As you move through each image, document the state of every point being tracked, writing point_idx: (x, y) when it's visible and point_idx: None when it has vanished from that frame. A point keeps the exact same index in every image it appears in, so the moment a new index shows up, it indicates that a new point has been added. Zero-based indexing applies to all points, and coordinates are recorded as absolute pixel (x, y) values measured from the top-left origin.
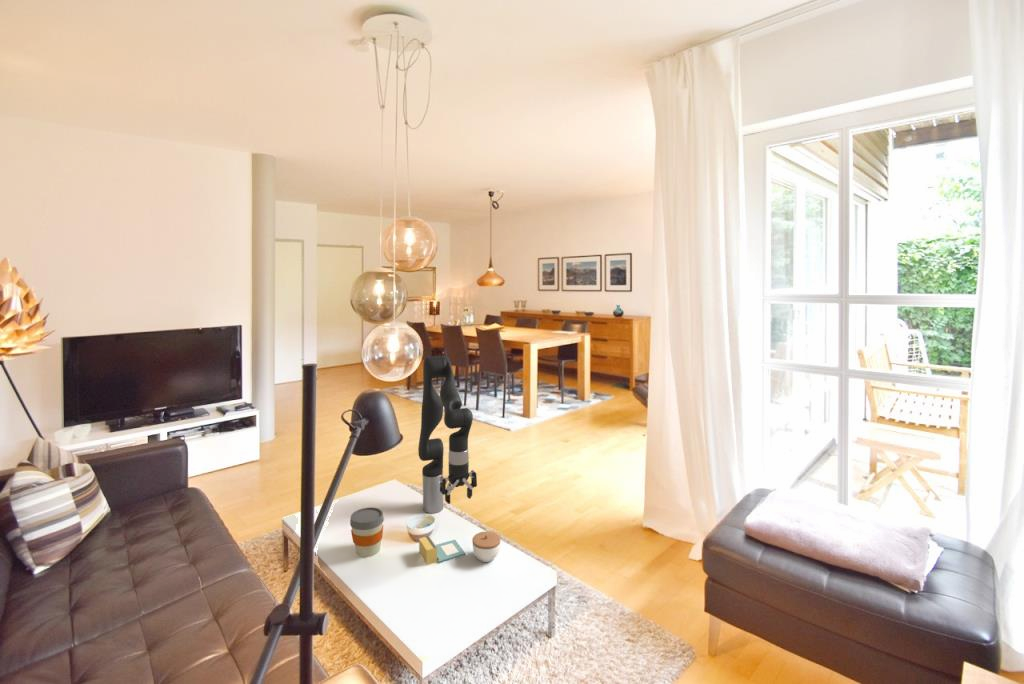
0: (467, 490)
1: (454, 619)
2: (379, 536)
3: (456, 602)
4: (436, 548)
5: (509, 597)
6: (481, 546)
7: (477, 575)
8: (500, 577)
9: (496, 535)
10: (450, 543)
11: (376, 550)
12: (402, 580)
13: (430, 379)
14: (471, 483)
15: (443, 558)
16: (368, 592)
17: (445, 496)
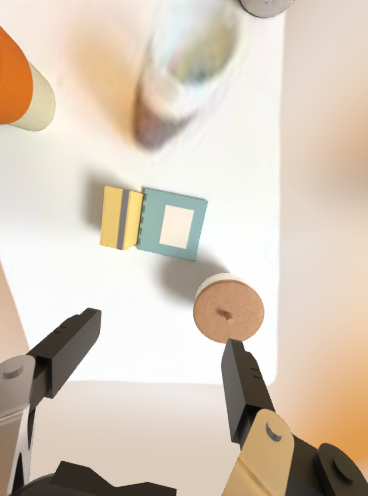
0: (237, 389)
1: (96, 365)
2: (3, 112)
3: (114, 344)
4: (124, 249)
5: (181, 382)
6: (198, 328)
7: (175, 319)
8: (201, 345)
9: (257, 320)
10: (190, 209)
11: (35, 126)
12: (63, 248)
13: None
14: (310, 493)
15: (149, 246)
16: (6, 240)
17: (40, 348)
